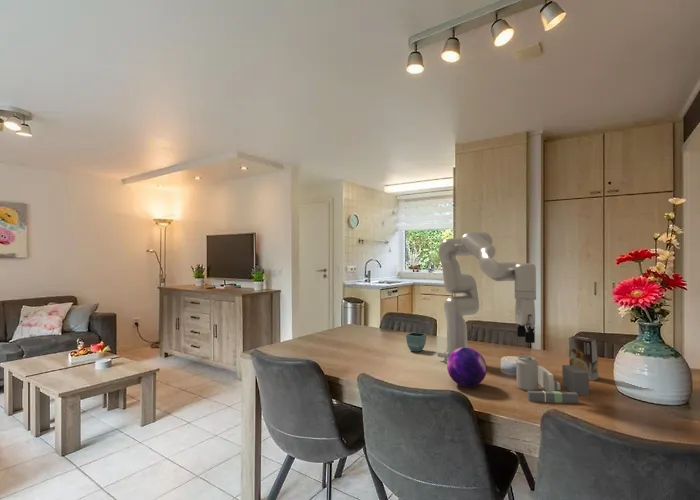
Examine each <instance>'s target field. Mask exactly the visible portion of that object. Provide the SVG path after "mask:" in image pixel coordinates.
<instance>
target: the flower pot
mask: <svg viewBox="0 0 700 500" xmlns="http://www.w3.org/2000/svg"><path fill="white" fill-rule="evenodd" d="M405 337H406V338H405V339H406V344H407V347H408V349H409V351H410V350H412V351H411V352H416V351H420V352H422V351H423V350H424V348H425V345H426V341H427V333H423V332H421V333H420V332H413V331H412V332H409V333H408V334H406V335H405Z"/></svg>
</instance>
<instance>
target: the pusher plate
mask: <svg viewBox="0 0 700 500" xmlns="http://www.w3.org/2000/svg"><path fill="white" fill-rule="evenodd" d="M538 386H540V387H541V388H542V389H543V390H544V391H561V383H560V382H559V381H557V380H554V374H553V373H551V372H550V371H549V370H547V368H545V367H544V366H543V365H538Z"/></svg>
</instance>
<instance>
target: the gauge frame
mask: <svg viewBox="0 0 700 500" xmlns="http://www.w3.org/2000/svg"><path fill="white" fill-rule="evenodd" d="M561 368H562V371H561V372H562V373H561V374H562V386H563V387H564V388H565V389H567V390H568V391H561V390H557V391H546V390H535V391H526V392H527V393H526V394H527V400H528V402H537V403H539V402H540V403H541V402H542V403H558V404H559V403H560V404H562V403H563V404H564V403H565V404H579V402H580V401H579V396H590V380H589V373H587V372H586V371H584V370H583V369H581V368H579V367H578V366H576V365H570V364H562V367H561Z"/></svg>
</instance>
